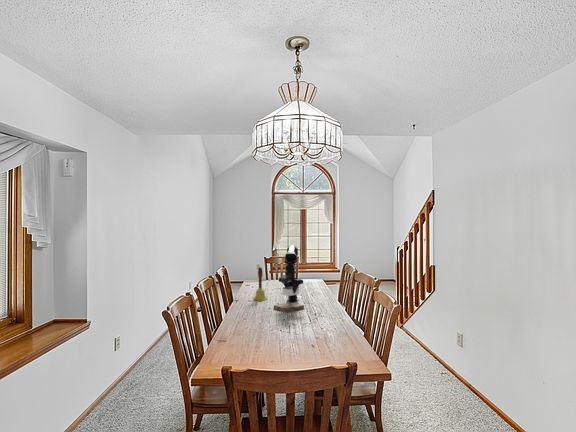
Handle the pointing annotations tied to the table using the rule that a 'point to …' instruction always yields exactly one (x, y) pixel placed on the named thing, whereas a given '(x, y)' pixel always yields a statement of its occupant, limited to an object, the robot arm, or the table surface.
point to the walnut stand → (288, 307)
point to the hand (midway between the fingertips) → (290, 293)
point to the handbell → (260, 288)
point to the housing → (290, 291)
